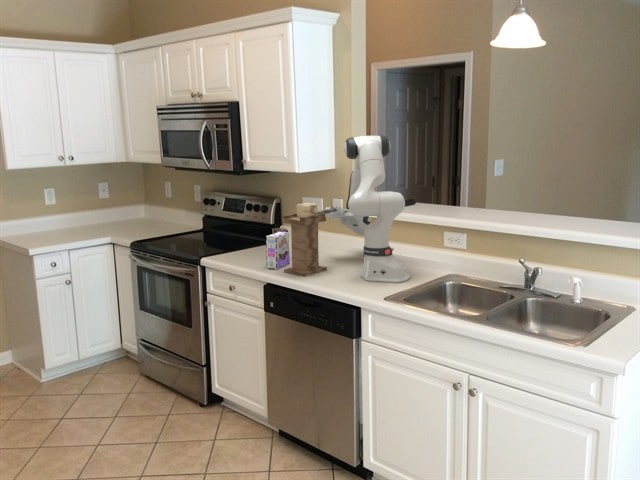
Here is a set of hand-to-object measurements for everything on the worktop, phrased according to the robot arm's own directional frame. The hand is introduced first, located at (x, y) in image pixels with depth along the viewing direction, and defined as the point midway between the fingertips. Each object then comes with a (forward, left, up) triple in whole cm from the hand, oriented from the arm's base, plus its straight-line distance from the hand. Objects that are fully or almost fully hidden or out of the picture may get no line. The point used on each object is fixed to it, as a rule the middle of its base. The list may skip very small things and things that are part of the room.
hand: (333, 207), depth 293 cm
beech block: (+2, +9, -2) cm, 9 cm away
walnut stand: (+4, +20, -28) cm, 35 cm away
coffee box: (+30, +4, -29) cm, 42 cm away
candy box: (+22, +18, -29) cm, 40 cm away
